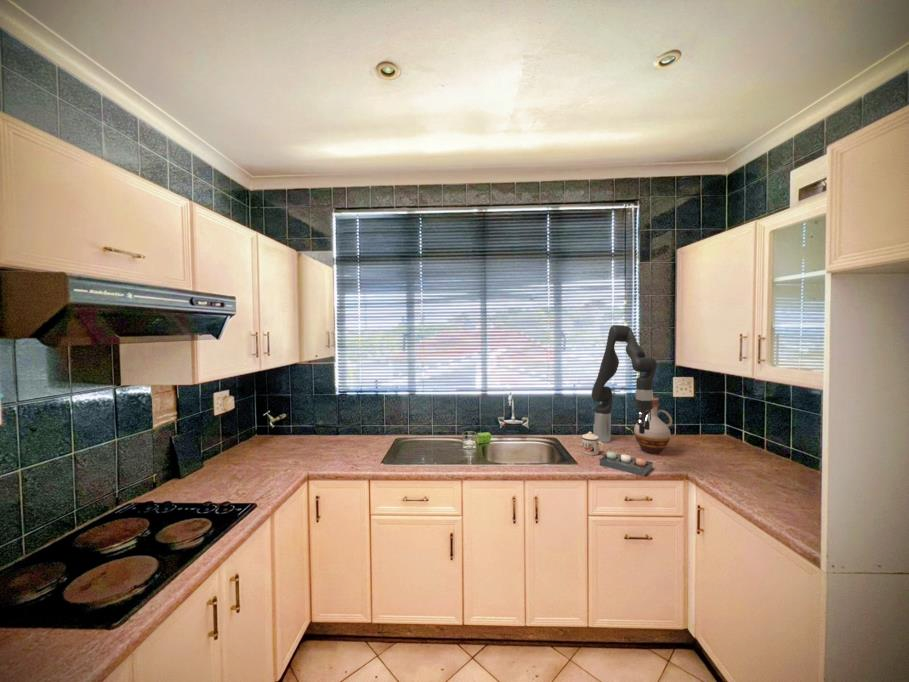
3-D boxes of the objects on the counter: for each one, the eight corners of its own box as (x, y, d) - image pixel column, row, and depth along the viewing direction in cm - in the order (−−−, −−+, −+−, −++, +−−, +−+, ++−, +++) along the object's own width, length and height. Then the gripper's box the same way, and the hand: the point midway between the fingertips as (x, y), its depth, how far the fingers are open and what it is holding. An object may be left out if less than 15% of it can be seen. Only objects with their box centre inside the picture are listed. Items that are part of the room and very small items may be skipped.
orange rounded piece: (634, 466, 174) (634, 459, 174) (637, 463, 177) (637, 456, 177) (644, 468, 171) (644, 461, 171) (647, 466, 174) (647, 459, 174)
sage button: (605, 459, 184) (605, 452, 184) (608, 457, 187) (608, 450, 187) (614, 461, 181) (614, 454, 181) (617, 459, 184) (617, 452, 184)
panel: (599, 465, 182) (599, 459, 182) (609, 458, 191) (609, 452, 191) (644, 476, 167) (644, 470, 167) (652, 468, 177) (652, 462, 176)
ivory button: (619, 462, 179) (619, 455, 179) (622, 460, 182) (622, 453, 182) (628, 465, 176) (628, 458, 176) (631, 462, 179) (631, 455, 179)
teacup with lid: (578, 452, 200) (578, 432, 199) (585, 448, 206) (585, 428, 206) (600, 458, 191) (600, 436, 191) (606, 453, 198) (606, 432, 197)
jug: (664, 446, 208) (664, 395, 207) (680, 457, 190) (680, 401, 189) (629, 445, 210) (629, 395, 209) (641, 456, 192) (642, 401, 191)
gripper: (640, 395, 181) (640, 427, 182) (631, 399, 171) (631, 433, 171) (656, 397, 176) (656, 429, 177) (648, 401, 166) (648, 436, 166)
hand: (644, 431), depth 174 cm, fingers open, 8 cm apart
